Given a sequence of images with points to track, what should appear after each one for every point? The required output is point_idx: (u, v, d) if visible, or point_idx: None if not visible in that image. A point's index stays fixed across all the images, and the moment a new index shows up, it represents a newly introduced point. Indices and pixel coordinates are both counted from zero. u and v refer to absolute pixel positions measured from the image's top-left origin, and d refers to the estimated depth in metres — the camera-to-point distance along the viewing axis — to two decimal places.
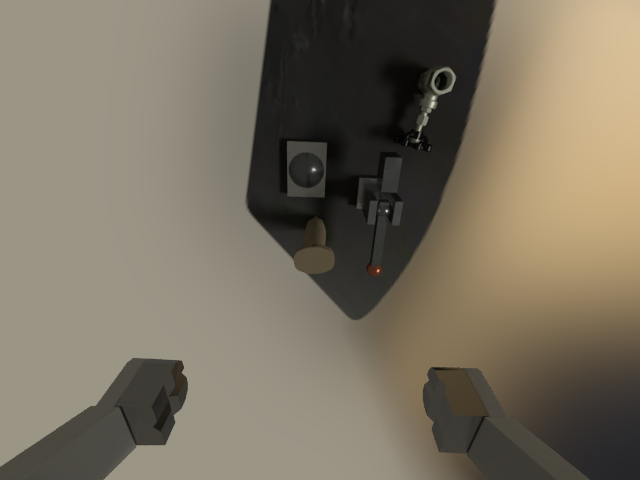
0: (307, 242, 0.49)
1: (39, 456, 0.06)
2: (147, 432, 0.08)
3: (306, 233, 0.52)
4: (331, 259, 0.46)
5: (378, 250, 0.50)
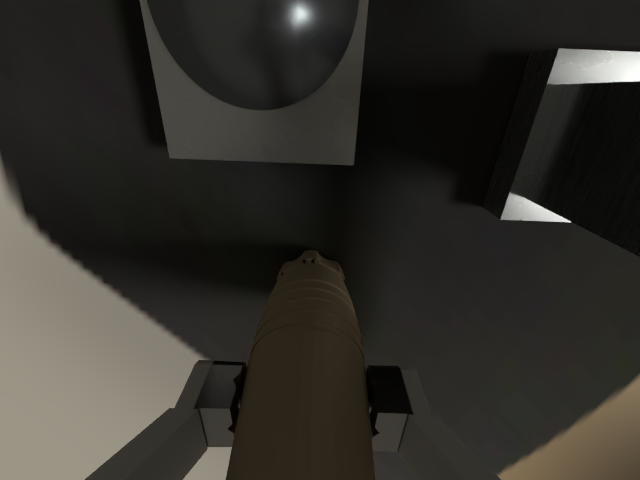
0: None
1: (133, 458, 0.06)
2: (220, 434, 0.08)
3: (249, 382, 0.08)
4: None
5: None
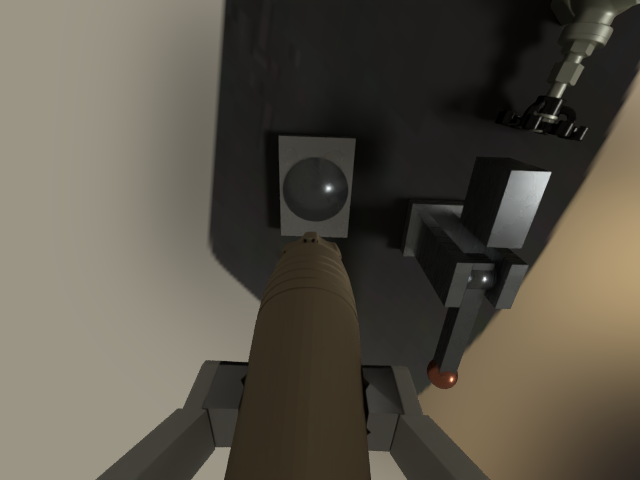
0: (240, 460, 0.06)
1: (143, 458, 0.06)
2: (228, 434, 0.08)
3: (258, 334, 0.10)
4: None
5: (456, 347, 0.26)
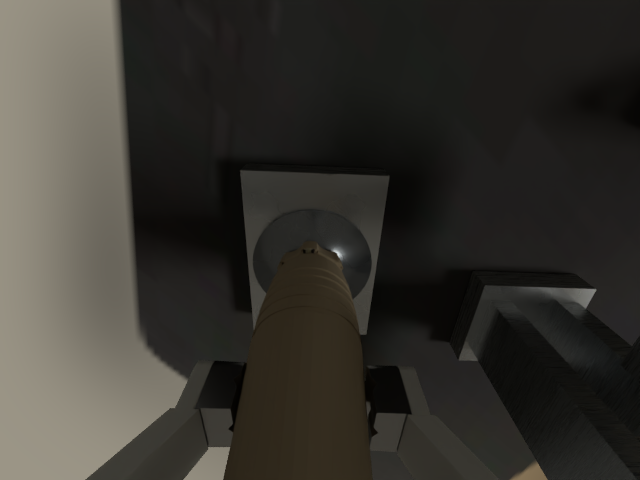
0: None
1: (133, 458, 0.06)
2: (221, 434, 0.08)
3: (252, 360, 0.09)
4: None
5: None
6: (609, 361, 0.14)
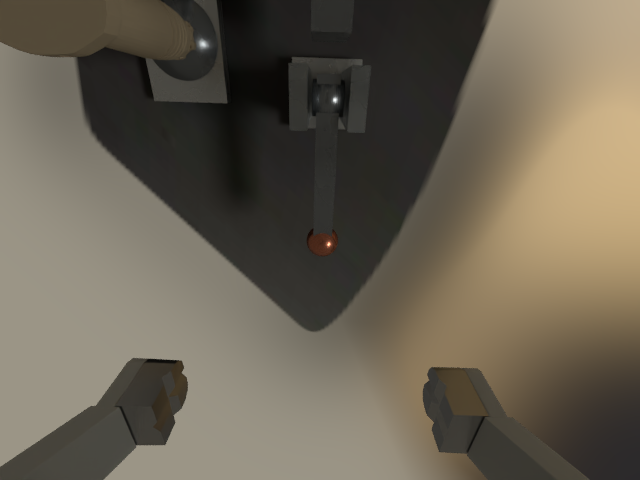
0: None
1: (39, 456, 0.06)
2: (147, 432, 0.08)
3: None
4: None
5: (324, 199, 0.23)
6: (344, 77, 0.24)
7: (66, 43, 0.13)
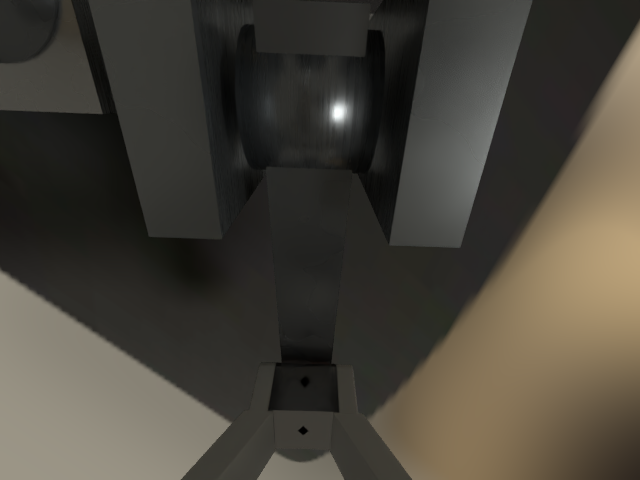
0: None
1: (221, 460, 0.06)
2: (290, 436, 0.08)
3: None
4: None
5: (308, 357, 0.09)
6: None
7: None
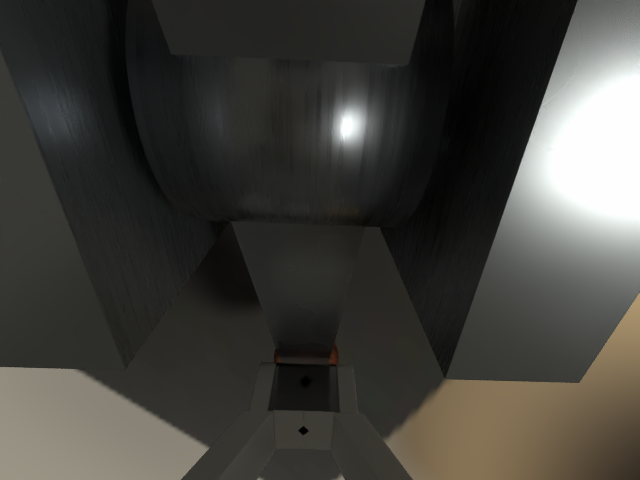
0: None
1: (221, 460, 0.06)
2: (290, 436, 0.08)
3: None
4: None
5: (306, 352, 0.09)
6: None
7: None
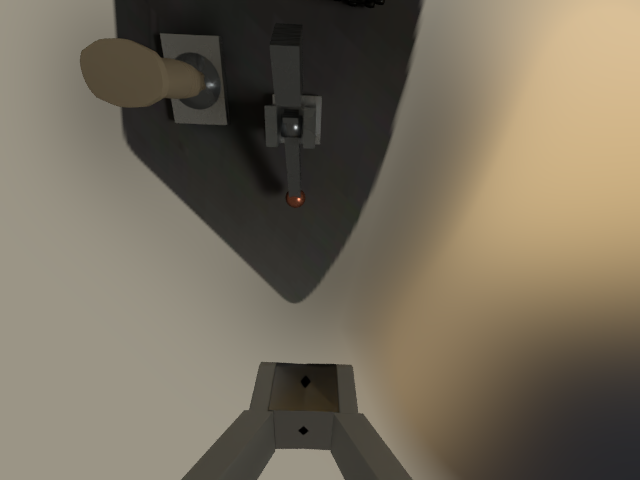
0: None
1: (221, 460, 0.06)
2: (290, 436, 0.08)
3: None
4: (155, 71, 0.23)
5: (294, 179, 0.38)
6: None
7: (139, 101, 0.24)
